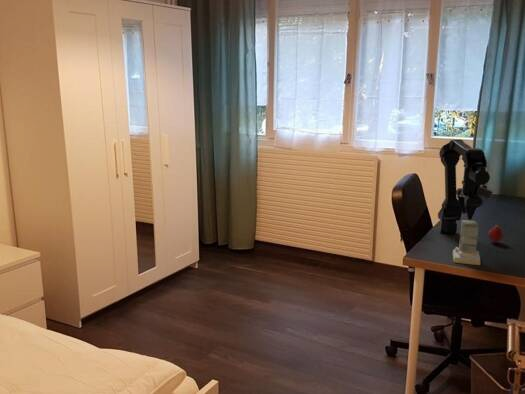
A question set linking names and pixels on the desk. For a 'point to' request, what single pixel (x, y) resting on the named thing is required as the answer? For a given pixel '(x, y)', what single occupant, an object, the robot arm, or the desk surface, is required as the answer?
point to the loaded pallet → (468, 239)
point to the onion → (496, 234)
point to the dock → (465, 259)
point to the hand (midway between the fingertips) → (466, 216)
